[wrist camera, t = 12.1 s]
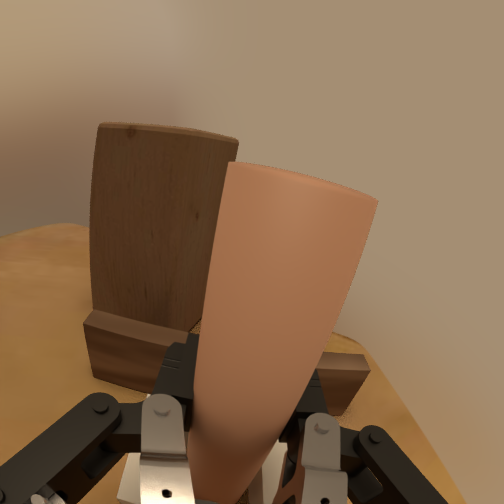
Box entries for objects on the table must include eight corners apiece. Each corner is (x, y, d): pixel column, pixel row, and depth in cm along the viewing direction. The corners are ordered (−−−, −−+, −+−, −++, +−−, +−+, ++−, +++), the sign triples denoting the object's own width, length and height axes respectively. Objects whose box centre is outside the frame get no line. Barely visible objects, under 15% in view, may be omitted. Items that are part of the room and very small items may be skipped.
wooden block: (166, 357, 24) (192, 128, 17) (92, 317, 27) (96, 121, 19) (209, 310, 34) (241, 139, 27) (143, 283, 36) (160, 128, 29)
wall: (341, 415, 21) (370, 370, 19) (93, 376, 19) (82, 323, 17) (336, 399, 23) (363, 354, 21) (101, 362, 21) (94, 309, 19)
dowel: (173, 485, 12) (196, 156, 6) (212, 459, 15) (285, 168, 9) (212, 521, 10) (344, 199, 4) (251, 491, 13) (392, 202, 7)
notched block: (288, 531, 11) (311, 519, 9) (128, 512, 10) (116, 497, 8) (280, 442, 18) (296, 415, 17) (150, 424, 17) (147, 393, 16)
